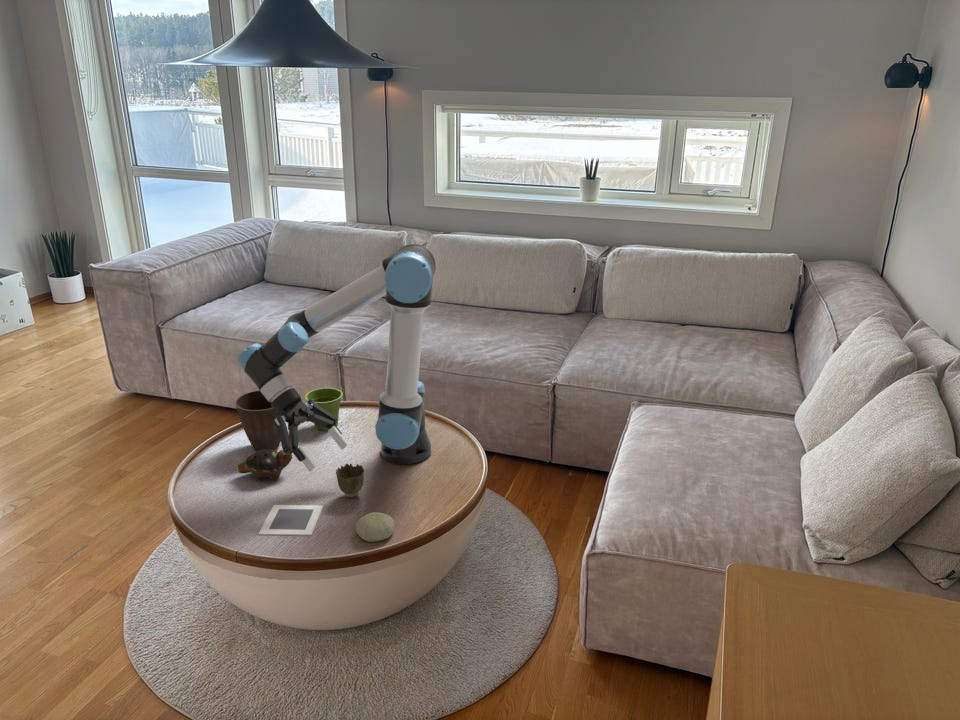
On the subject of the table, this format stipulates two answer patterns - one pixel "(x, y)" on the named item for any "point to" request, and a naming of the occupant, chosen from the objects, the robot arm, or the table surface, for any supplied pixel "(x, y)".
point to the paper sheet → (291, 520)
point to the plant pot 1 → (258, 420)
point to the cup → (350, 479)
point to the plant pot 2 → (326, 401)
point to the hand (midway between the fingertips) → (329, 457)
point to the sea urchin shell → (375, 527)
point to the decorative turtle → (265, 464)
